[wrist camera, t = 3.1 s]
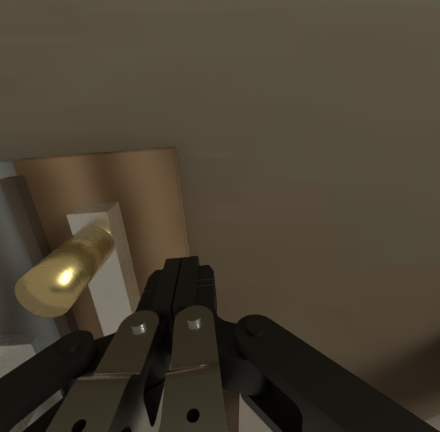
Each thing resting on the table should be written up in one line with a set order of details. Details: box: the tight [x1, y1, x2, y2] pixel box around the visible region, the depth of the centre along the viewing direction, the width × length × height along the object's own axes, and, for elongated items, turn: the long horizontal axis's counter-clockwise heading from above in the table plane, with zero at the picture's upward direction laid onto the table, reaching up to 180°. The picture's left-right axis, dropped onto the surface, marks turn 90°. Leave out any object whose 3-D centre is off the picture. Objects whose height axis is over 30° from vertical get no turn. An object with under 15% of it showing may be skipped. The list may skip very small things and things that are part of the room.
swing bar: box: [15, 202, 140, 336], centre depth 16 cm, size 16×4×7 cm, turn 4°
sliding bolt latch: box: [0, 147, 190, 432], centre depth 23 cm, size 21×34×3 cm, turn 4°
